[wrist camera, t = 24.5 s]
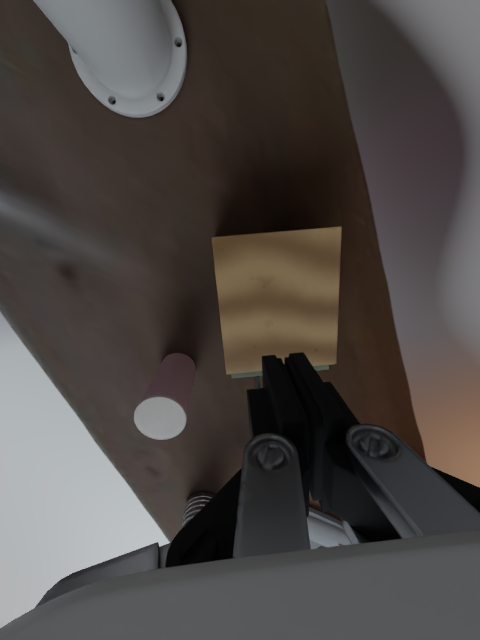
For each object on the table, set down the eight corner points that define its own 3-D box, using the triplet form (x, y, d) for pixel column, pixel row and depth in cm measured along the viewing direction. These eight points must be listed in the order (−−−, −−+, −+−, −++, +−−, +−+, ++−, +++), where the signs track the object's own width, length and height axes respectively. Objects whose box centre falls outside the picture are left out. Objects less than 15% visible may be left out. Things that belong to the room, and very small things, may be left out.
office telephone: (296, 511, 50) (375, 544, 54) (292, 498, 52) (368, 530, 56) (233, 584, 55) (309, 609, 59) (232, 569, 58) (306, 594, 62)
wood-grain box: (314, 338, 42) (336, 364, 34) (226, 346, 41) (226, 374, 33) (316, 228, 37) (341, 226, 28) (214, 236, 36) (211, 237, 28)
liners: (151, 364, 42) (122, 414, 30) (181, 344, 41) (163, 387, 29) (175, 391, 43) (156, 447, 32) (204, 372, 43) (196, 423, 31)
